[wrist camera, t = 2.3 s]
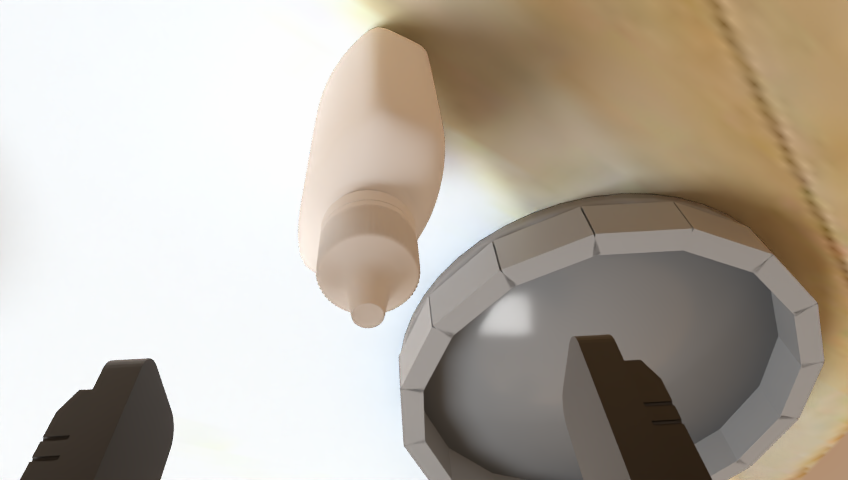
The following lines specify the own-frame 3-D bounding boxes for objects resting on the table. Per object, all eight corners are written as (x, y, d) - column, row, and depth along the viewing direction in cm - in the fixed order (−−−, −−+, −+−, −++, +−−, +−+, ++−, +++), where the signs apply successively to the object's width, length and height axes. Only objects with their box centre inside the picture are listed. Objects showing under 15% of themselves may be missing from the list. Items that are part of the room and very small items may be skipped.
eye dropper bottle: (466, 104, 24) (530, 316, 14) (345, 183, 26) (329, 424, 16) (397, 5, 22) (418, 174, 12) (271, 97, 24) (197, 314, 14)
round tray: (389, 206, 26) (391, 245, 24) (844, 182, 27) (888, 217, 25) (407, 492, 37) (409, 538, 35) (733, 468, 38) (757, 512, 36)
